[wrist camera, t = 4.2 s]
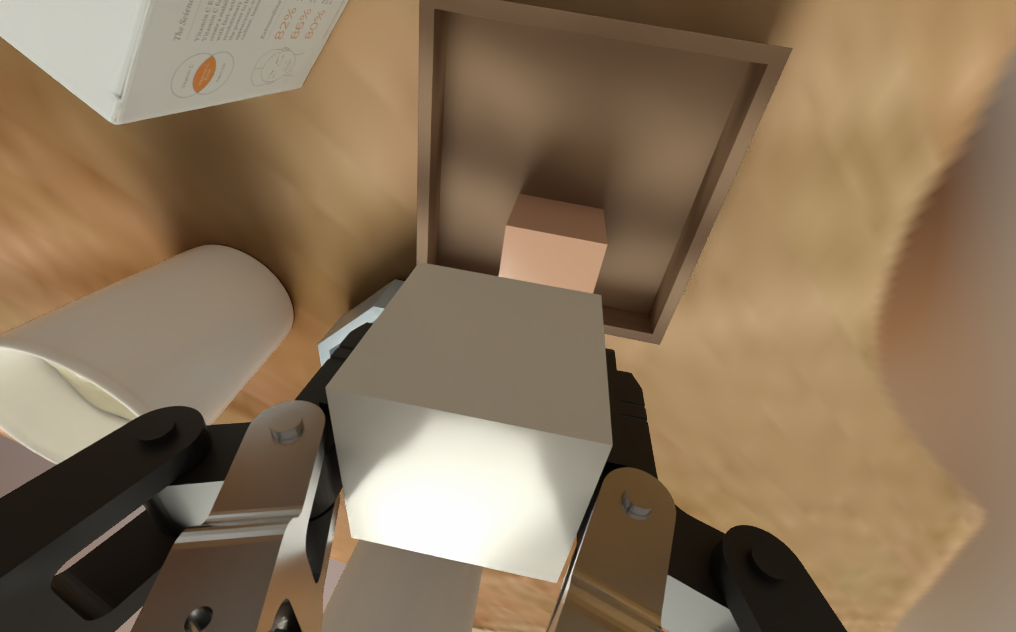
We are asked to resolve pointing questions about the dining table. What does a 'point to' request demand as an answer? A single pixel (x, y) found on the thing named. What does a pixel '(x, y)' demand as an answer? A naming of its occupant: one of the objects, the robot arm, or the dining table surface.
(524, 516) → the off-white cube
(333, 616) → the utensil holder
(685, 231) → the walnut tray
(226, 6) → the small box
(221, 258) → the candle holder
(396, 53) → the dining table surface
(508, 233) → the tan cube
